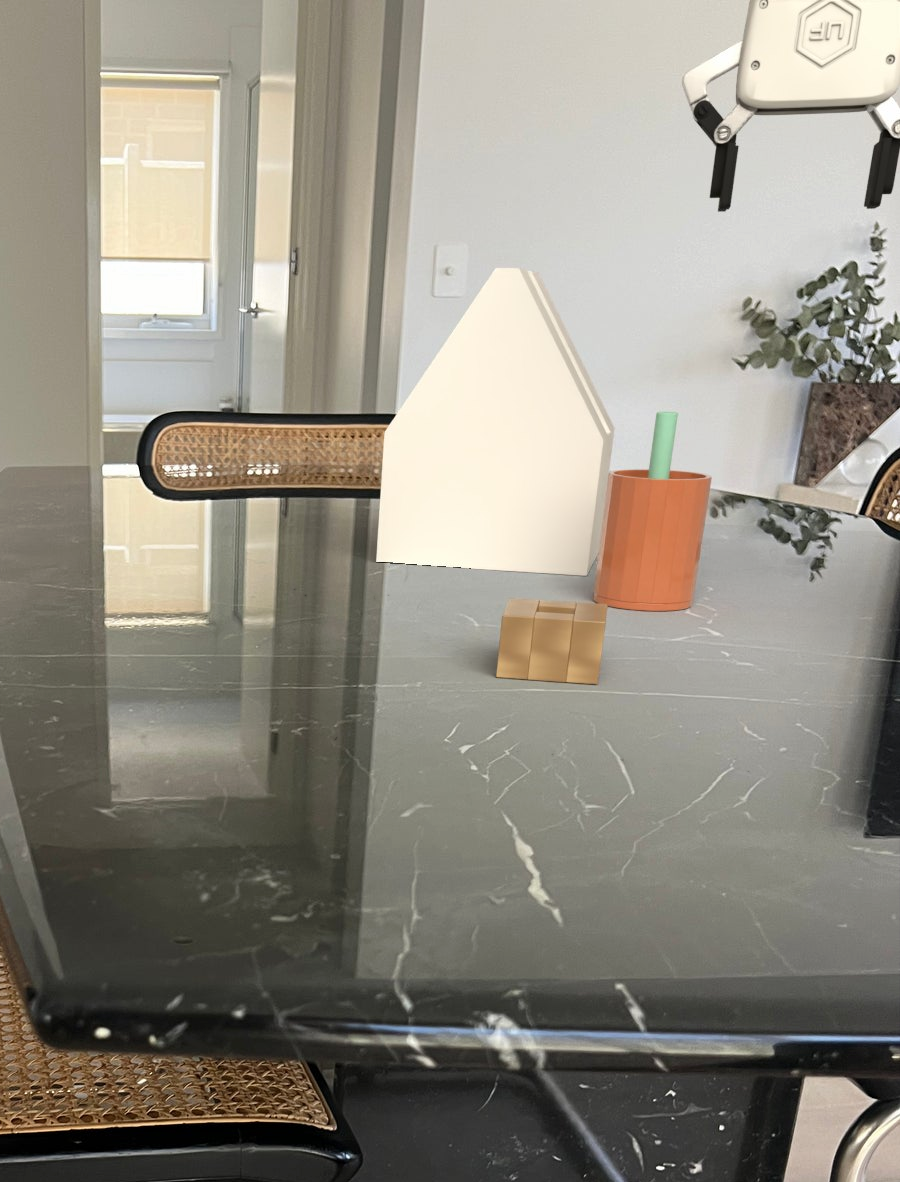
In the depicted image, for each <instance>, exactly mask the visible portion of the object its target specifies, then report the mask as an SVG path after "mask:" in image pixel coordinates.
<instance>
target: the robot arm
mask: <svg viewBox="0 0 900 1182" xmlns="http://www.w3.org/2000/svg"><path fill="white" fill-rule="evenodd" d="M745 18H746V19H745V24H744V29H743V36H742V40H739V41H737V42H736V43H735V44H732V45H731V46H730V47H727V48H725V49H724V50H722V51H721V52H719V53H717V54H716V55H715V54H714V56H712V57H710V58H708V59H707V60H705V61H703V62H702V63H699V64H698V65H696V66H695V67H693V68H691V69H690V70H688V71H686V72H685V73H684V74H683V76H682V78H681V87H682V89H683V92H684V94H685V98H686V100H687V103H688V106H689V108H690V111H691V114H692V118H693V120H694V122H695V123H696V124H697V126H699V127H700V129H701V130H702V131H703V132H704V134H705V135H706V136H707V138H709V140H710V141H711V142H712V144H713V145H714V146H715V151H714V159H713V167H712V174H711V183H710V190H709V199H718V204H717V205H718V207H717V212H718V213H721V212H723V213H724V212H726V211H727V210H729V209H730V208H731V205H732V198H733V191H734V184H735V183H734V182H735V178H736V177H735V176H736V169H737V161H738V154H739V147H740V145H737V134H738V133H739V132H740V131H741V130H742V128H743V127H745V125H746V124H747V123H748V122H749V121H750V120H751V119H752V117H754V116H790V115H791V116H794V115H821V114H823V115H825V114H844V113H847V114H849V113H861V112H862V113H863V112H867V114H868V115H869V116H870V118H871V120H872V121H873V123H874V124H875V126H876V127H877V129H878V130H879V139H878V142H876V143H875V144H874V145H873V147H872V148H873V149H872V154H871V160H870V166H869V173H868V177H867V178H868V179H867V183H866V185H867V186H866V189H865V196H864V201H863V207H864V208H866V209H867V210H869V209H870V210H874V209H877V208H879V207H880V206H881V204H882V201H883V200H882V199H883V195H891V194H892V193H893V190H894V186H895V180H896V173H897V169H898V162H899V156H900V106H899V104H898V102H897V100H896V99H895V97H894V95H895V93H897V91H898V89H899V87H900V0H749V2H748V9H747V14H746V17H745ZM736 68H737V74H736V83H735V84H736V85H735V104H736V105H735V106H734V107H733V108H732V110H731V111H730V112H729V113H728V114H727V115H726V117H725V118H723V115H721V114H720V112H718V109H716V108H715V106H714V105H713V103H712V102H711V101H710V97H709V94H708V92H707V86H708V85H709V84H711V82H713V81H715V80H717V79H719V78H720V77H722V76H724V75H726V74H727V73H728V72H731V71H732V70H734V69H736Z"/></svg>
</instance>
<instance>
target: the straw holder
mask: <svg viewBox="0 0 900 1182" xmlns="http://www.w3.org/2000/svg"><path fill="white" fill-rule="evenodd" d="M607 614H608V606H607V604H599V603H597V602H581V601H580V602H579V601H577V602H576V601H565V600H564V601H562V600H547V599H530V598H514V597H513V598H512V597H510V598H509V600H508V602H507V604H506V607H505V609H504V611H503V613H502V614H501V615H502V616H501V624H500V635H499V643H498V653H497V654H498V655H497V664H496V674H495V677H496V678H500V679H512V680H513V679H514V680H515V679H516V680H527V681H541V682H555V683H568V684H569V683H571V684H585V685H598V684H599V679H600V672H601V671H600V670H601V663H602V655H603V654H602V653H603V648H604V639H605V630H606V623H607Z"/></svg>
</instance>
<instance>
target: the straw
mask: <svg viewBox="0 0 900 1182" xmlns="http://www.w3.org/2000/svg"><path fill="white" fill-rule="evenodd" d="M678 416H679V413H678V412H675V411H657V412H656V413H655V422H654V427H653V434H652V435H653V436H652V442H651V443H652V444H651V450H650V459H649V466H648V469H649V472H648V478H651V479H669V473H670V470H671V465H672V458H673V451H674V444H675V438H676V430H677V423H678Z"/></svg>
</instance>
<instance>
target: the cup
mask: <svg viewBox="0 0 900 1182" xmlns="http://www.w3.org/2000/svg"><path fill="white" fill-rule="evenodd" d="M648 472H649V468H648V469H647V468H645V469H643V468H642V469H639V468H637V469H636V468H635V469H634V468H633V469H616V470H611V471H609V476H608V484H607V492H606V500H605V508H604V516H603V524H602V532H601V539H600V547H599V553H598V555H597V564H596V572H595V581H594V589H593V597H592V599H593V602H594V603H598V604H607V607H611V608H615V609H623V610H630V611H644V612H673V611H680V610H681V611H682V610H686V609H689V608H691V607H692V606H693V602H694V601H693V599H694V595H695V590H696V584H697V577H698V570H699V564H700V557H701V551H702V545H703V537H704V531H705V525H706V517H707V513H708V504H709V497H710V491H711V485H712V478H713V477H712V475H711V474H706V473H701V472H695V471H685V470H672V469H670V473H669V479H651V478H648Z"/></svg>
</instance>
